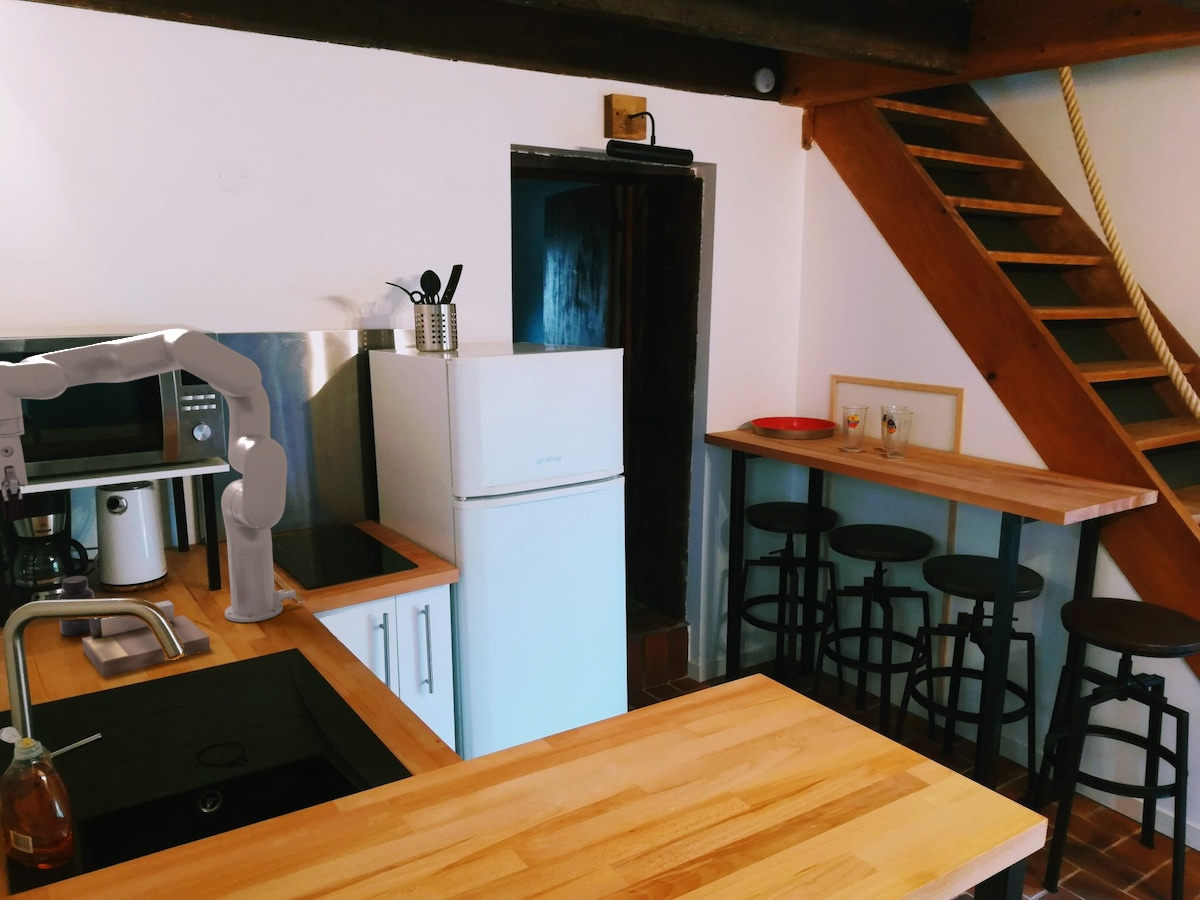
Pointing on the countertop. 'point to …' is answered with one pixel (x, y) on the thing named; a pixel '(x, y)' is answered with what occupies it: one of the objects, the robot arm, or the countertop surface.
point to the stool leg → (124, 622)
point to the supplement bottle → (75, 590)
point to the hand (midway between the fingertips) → (10, 515)
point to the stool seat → (140, 647)
